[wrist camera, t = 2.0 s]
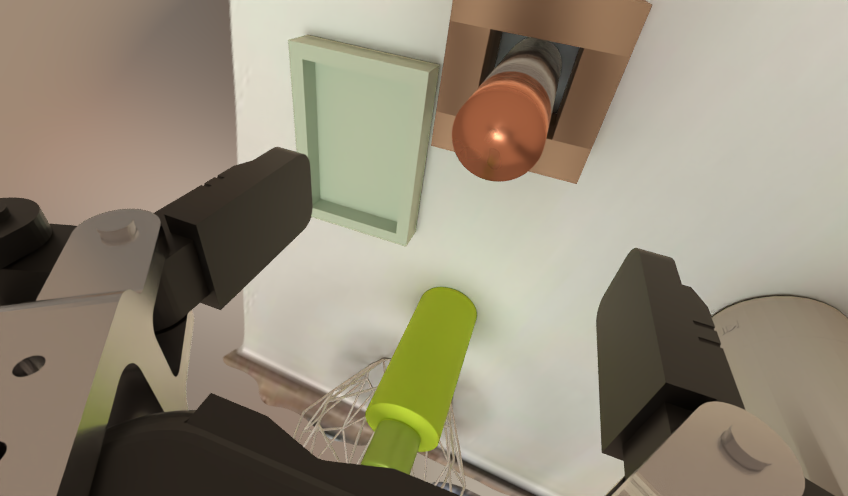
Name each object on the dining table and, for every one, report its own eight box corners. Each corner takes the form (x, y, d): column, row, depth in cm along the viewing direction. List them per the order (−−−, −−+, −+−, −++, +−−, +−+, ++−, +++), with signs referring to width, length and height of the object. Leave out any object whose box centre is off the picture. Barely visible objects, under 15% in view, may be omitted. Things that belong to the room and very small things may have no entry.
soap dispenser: (425, 271, 37) (314, 487, 22) (488, 308, 37) (420, 548, 22) (403, 305, 41) (294, 510, 26) (459, 339, 41) (385, 563, 26)
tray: (439, 64, 26) (428, 72, 24) (415, 231, 35) (406, 246, 33) (307, 34, 28) (288, 39, 26) (315, 201, 37) (301, 213, 35)
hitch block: (639, -3, 21) (652, 5, 17) (577, 152, 27) (576, 183, 23) (478, -31, 23) (457, -30, 19) (452, 120, 28) (431, 145, 24)
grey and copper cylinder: (570, 43, 23) (559, 102, 13) (550, 102, 25) (529, 191, 15) (512, 31, 24) (461, 79, 14) (498, 90, 26) (445, 168, 16)
